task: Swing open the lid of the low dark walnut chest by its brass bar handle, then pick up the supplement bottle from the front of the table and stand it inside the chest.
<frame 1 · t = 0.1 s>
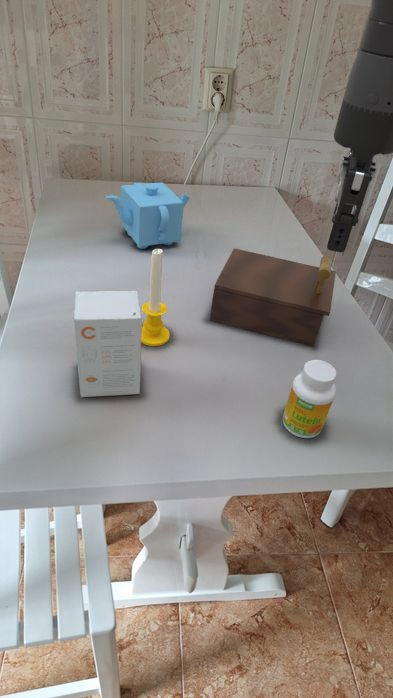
hand: (337, 236, 64), 21 cm above the table, tool pointing down, fingers open, 8 cm apart
chest: (267, 312, 86), on the table
lid: (280, 267, 80), point 9 cm above the table, hinge at 0.0°
teapot: (146, 238, 103), on the table
small box: (109, 381, 69), on the table
supplement bottle: (301, 424, 66), on the table
candle: (153, 337, 77), on the table
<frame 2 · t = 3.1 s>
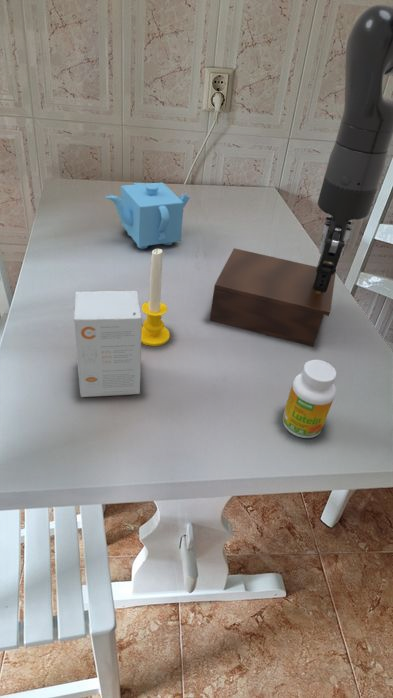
hand: (321, 281, 79), 8 cm above the table, tool pointing down, fingers closed on lid, 5 cm apart
lid: (280, 267, 80), point 9 cm above the table, hinge at 0.0°, touching gripper
everything else where it was.
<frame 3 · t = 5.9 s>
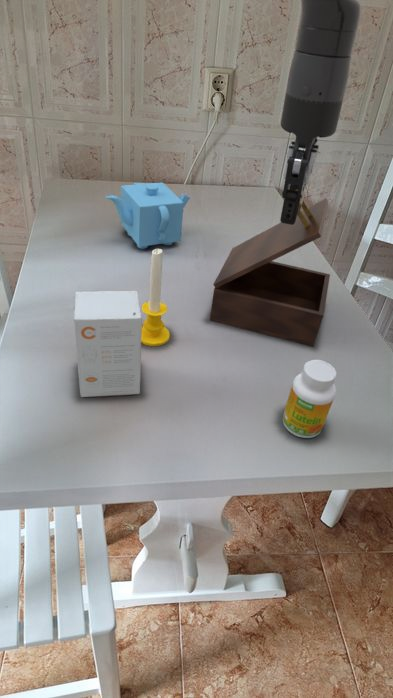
hand: (290, 215, 74), 18 cm above the table, tool pointing down, fingers closed on lid, 5 cm apart
lid: (263, 231, 77), point 15 cm above the table, hinge at 41.6°, touching gripper
everything else where it was.
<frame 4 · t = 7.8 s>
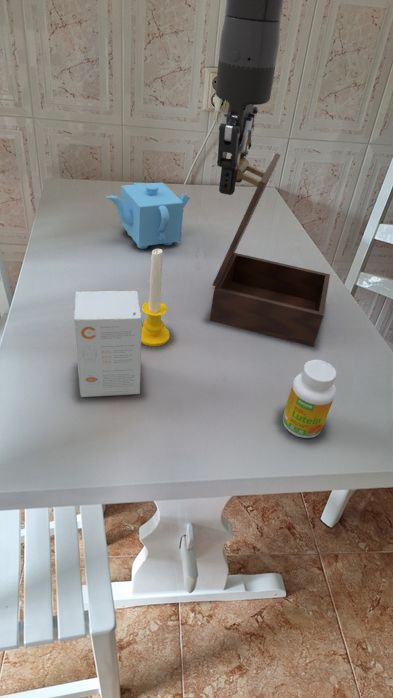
hand: (230, 186, 74), 21 cm above the table, tool pointing down, fingers closed on lid, 5 cm apart
lid: (232, 214, 77), point 16 cm above the table, hinge at 75.5°, touching gripper
everything else where it was.
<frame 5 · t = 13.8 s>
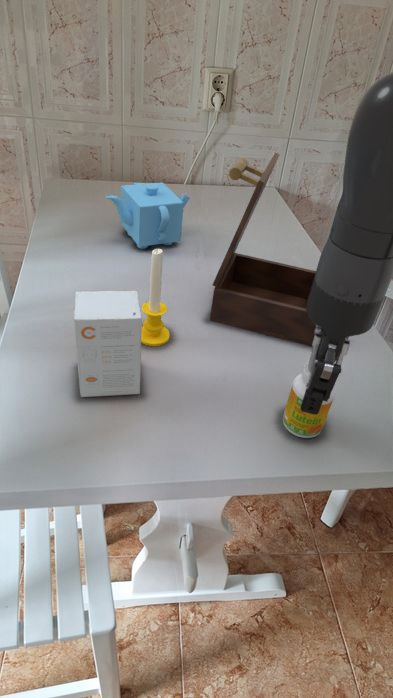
hand: (311, 394, 62), 5 cm above the table, tool pointing down, fingers closed on supplement bottle, 5 cm apart
lid: (232, 214, 77), point 16 cm above the table, hinge at 76.0°
supplement bottle: (301, 424, 66), on the table, touching gripper
everything else where it was.
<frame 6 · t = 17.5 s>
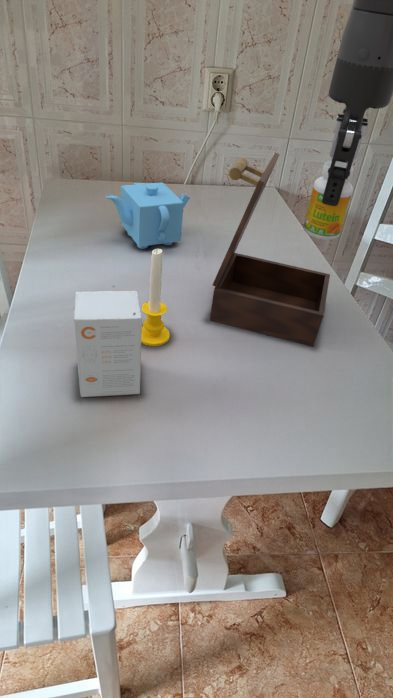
hand: (331, 196, 68), 23 cm above the table, tool pointing down, fingers closed on supplement bottle, 5 cm apart
supplement bottle: (320, 233, 72), point 17 cm above the table, touching gripper
everything else where it was.
when the fingers open (6 cm above the table, at t = 21.7 s): supplement bottle stays where it is, resting on chest.
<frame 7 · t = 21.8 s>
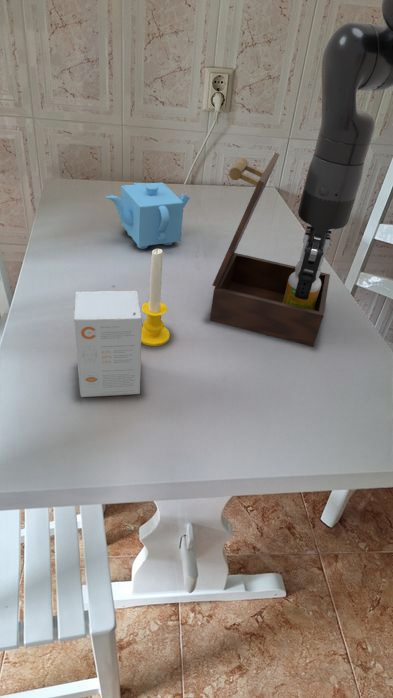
hand: (303, 288, 81), 6 cm above the table, tool pointing down, fingers open, 5 cm apart
supplement bottle: (295, 316, 84), point 1 cm above the table, touching chest
everything else where it was.
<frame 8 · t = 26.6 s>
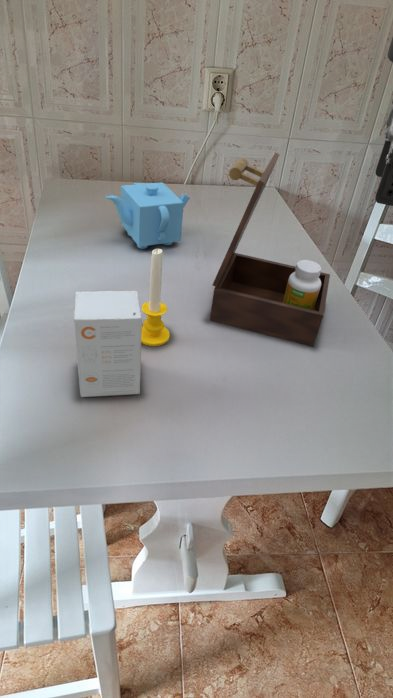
hand: (384, 189, 52), 30 cm above the table, tool pointing down, fingers open, 8 cm apart
nothing on the table moved.
at the end: lid at +76° (first picture: +0°); supplement bottle inside the target area in the chest (4.8 cm from its centre), point 0.6 cm above the chest's base; supplement bottle tilted 0° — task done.
